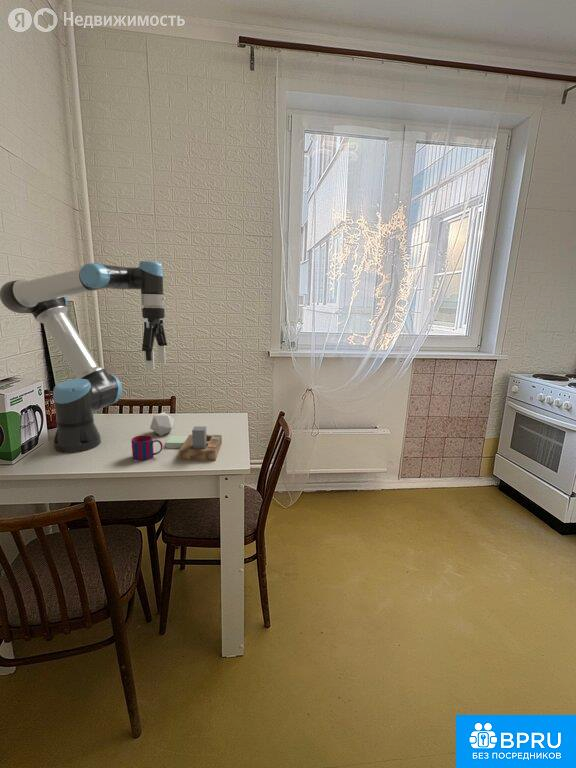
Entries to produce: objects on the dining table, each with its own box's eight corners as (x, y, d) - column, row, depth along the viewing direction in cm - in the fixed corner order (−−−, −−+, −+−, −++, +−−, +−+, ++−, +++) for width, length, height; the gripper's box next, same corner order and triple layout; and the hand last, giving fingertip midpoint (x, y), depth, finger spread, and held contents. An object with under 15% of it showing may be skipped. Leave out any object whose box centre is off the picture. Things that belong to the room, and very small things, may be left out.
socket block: (179, 460, 129) (179, 449, 128) (189, 443, 143) (189, 434, 142) (215, 460, 129) (215, 450, 128) (221, 443, 144) (221, 434, 143)
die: (177, 436, 151) (179, 413, 156) (159, 431, 145) (162, 406, 149) (162, 440, 156) (165, 417, 160) (144, 435, 149) (147, 411, 153)
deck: (166, 447, 139) (165, 442, 138) (171, 440, 145) (171, 435, 145) (185, 448, 139) (185, 442, 138) (189, 440, 146) (189, 435, 145)
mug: (138, 452, 134) (137, 434, 132) (166, 454, 133) (165, 436, 131) (128, 460, 127) (127, 441, 126) (157, 462, 126) (156, 443, 125)
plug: (193, 457, 131) (192, 430, 128) (195, 453, 135) (194, 426, 132) (204, 458, 131) (204, 430, 129) (206, 453, 135) (206, 426, 132)
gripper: (152, 308, 123) (156, 372, 128) (173, 306, 147) (175, 360, 152) (129, 307, 123) (133, 372, 128) (153, 305, 147) (156, 360, 152)
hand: (156, 366), depth 140 cm, fingers open, 13 cm apart
